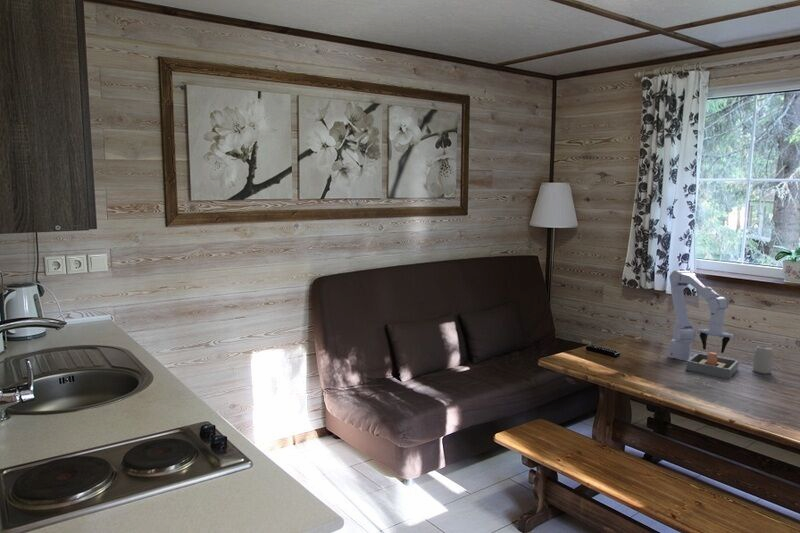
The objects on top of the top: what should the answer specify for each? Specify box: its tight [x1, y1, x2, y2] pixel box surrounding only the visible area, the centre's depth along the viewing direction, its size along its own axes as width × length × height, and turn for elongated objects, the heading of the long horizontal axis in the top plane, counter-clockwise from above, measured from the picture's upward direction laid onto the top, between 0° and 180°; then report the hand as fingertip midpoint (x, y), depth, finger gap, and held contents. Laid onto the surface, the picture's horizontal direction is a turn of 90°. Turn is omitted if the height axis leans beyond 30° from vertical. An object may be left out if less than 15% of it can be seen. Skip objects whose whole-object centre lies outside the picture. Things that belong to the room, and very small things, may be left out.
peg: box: [707, 351, 719, 366], centre depth 277 cm, size 4×4×8 cm
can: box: [752, 345, 774, 375], centre depth 277 cm, size 8×8×12 cm
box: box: [686, 352, 740, 380], centre depth 278 cm, size 18×18×4 cm
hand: (713, 350), depth 278 cm, fingers open, 7 cm apart
